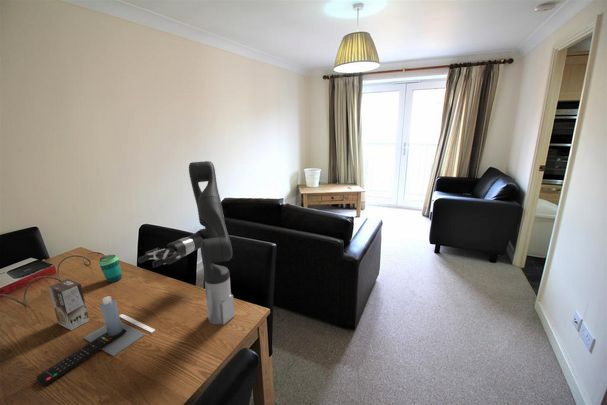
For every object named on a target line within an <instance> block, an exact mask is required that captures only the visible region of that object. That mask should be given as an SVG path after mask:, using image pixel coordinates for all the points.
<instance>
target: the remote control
mask: <svg viewBox="0 0 607 405" xmlns="http://www.w3.org/2000/svg"><path fill="white" fill-rule="evenodd" d="M125 332H127V331H126V330H125V329H123V328H122V331H121V332H120V333H119V334H117V335H115V336H109V335H108V333H107V332H106V333H105V334H103V335H101V336H100V337H98V338H97V339H95V340H93V341H92V342H89V343H87V344H85V345H84V346H83V347H80V348H79V349H77V350H76V351H74V352H73V353H71V354H69V355H68V356H67V357H65V358H63V359H62V360H60V361H58V362H57V363H55V364H53V365H52V366H51V367H49V368H48V369H46V370H44V371H43V372H41V373H39V374H38V375H36V379H37V382H38V384H39V385H40V386H44V387H45V386H48V385H49V384H51V383H52V382H53V381H55V380H56V379H58V378H59V377H61V376H62V375H64V374H65V373H67V372H68V371H70V370H72V369H73V368H74V367H76V366H78V365H79V364H81V363H82V362H83V361H85V360H86V359H88V358H89V357H90V356H92V355H94V354H95V353H97V352H98V351H101V350H102V349H101V348H103V347H104V346H106V345H107V344H109V343H110V342H112V341H113V340H115V339H116V338H118V337H119V336H121V335H122V334H124V333H125Z"/></svg>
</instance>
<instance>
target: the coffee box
mask: <svg viewBox="0 0 607 405" xmlns="http://www.w3.org/2000/svg"><path fill="white" fill-rule="evenodd" d="M48 291H49V294H50V298H51V301H52V305H53V309H54V312H55V316H56V319H57V323H58V324H59V325H60V326H61V327H62V326H63V327H64V328H66V329H68V330H69V331H73V330H75V329H77V328H78V327H80V326H82V325H84V324H85V323H87V322H89V321H90V319H89V315H88V309H87V306H86V301H85V297H84V296H85V295H84V292H83V288H82V284H81V283H80V282H77V281H75V280H73V279H69V278H66V279H63V280H61V281H59V282H56V283H55V284H53V285H50V286H48ZM58 324H57V325H58Z"/></svg>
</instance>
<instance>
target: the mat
mask: <svg viewBox="0 0 607 405" xmlns="http://www.w3.org/2000/svg"><path fill="white" fill-rule="evenodd" d="M121 325H122V328H123V329H125V330H126V331H127V332H125V333H124V334H122V335H121V336H119V337H118V338H116V339H115V340H113V341H112V342H110V343H109V344H107V345H106V346H104V347H103V348H101V349H100V350H101V351H104V352H105V353H106V354H109V355H110V356H112V357H116V356H117V355H118V354H120V353H121V352H123V351H124V350H125V349H128V348H129V347H130V346H132V345H133V344H135V343H136V342H138V341H139V340H141V339H142V338H144V337H145V336H146V334H145V333H144V332H142V331H140V330H138V329H135V328H133V327H132V326H129V325H128V324H126V323H124V322H122V321H121ZM106 332H107V329H106V325H105V324H104V325H102V326H101V327H99V328H97V329H96V330H94V331H92V332H91V333H89V334H86V335H85V336H83V339H84V340H85V341H87V342H89V343H90V342H92V341H93V340H95V339H97V338H98V337H100V336H101V335H103V334H105V333H106Z"/></svg>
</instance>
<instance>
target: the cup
mask: <svg viewBox="0 0 607 405" xmlns="http://www.w3.org/2000/svg"><path fill="white" fill-rule="evenodd" d="M98 266H99V267H100V268H101V272H102V273H103V275H104V278H105V279H106V280H107V282H108V283H110V284H111V283H116V282H119V281H121V279H122V270H121V265H120V261H119V257H118V256H117V255H115V254H108V255H104V256H102V257H100V258H99V262H98Z"/></svg>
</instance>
